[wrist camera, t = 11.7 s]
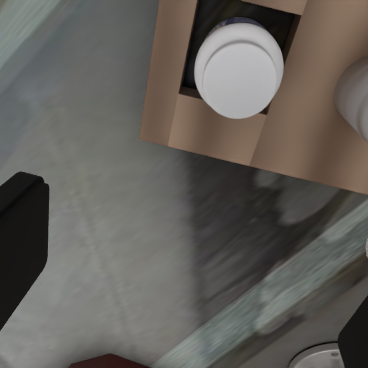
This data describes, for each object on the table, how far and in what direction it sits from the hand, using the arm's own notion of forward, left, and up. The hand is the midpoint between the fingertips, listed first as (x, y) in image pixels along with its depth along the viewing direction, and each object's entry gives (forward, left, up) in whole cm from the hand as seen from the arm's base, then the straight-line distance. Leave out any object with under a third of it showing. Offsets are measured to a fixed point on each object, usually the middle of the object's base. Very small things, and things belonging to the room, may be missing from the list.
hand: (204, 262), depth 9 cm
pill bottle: (-1, -3, -21) cm, 21 cm away
